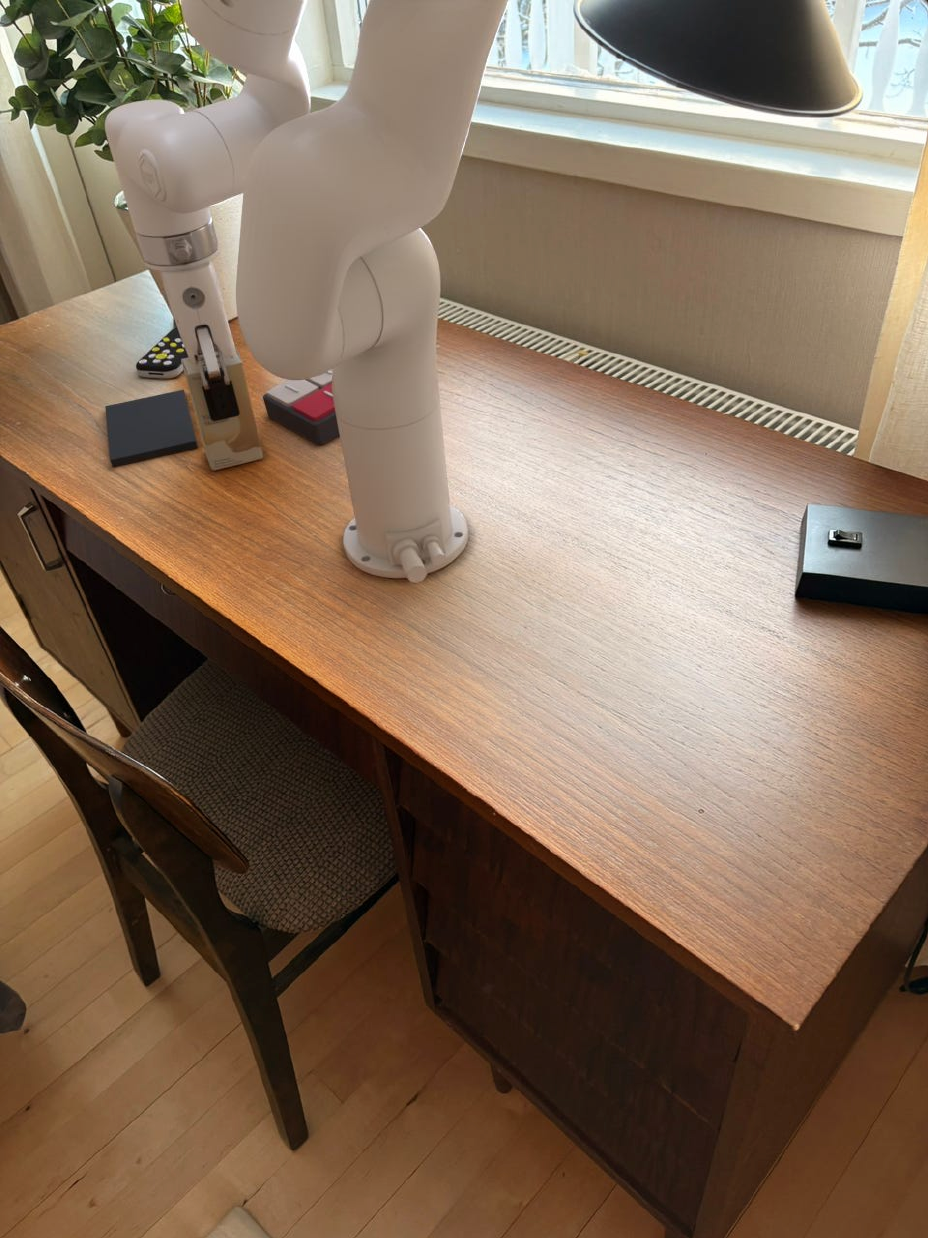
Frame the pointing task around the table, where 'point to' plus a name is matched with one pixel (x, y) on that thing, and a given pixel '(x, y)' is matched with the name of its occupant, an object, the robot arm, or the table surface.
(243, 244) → the robot arm
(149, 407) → the desk pad
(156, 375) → the remote control
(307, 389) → the calculator
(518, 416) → the table surface
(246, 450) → the cosmetic box
